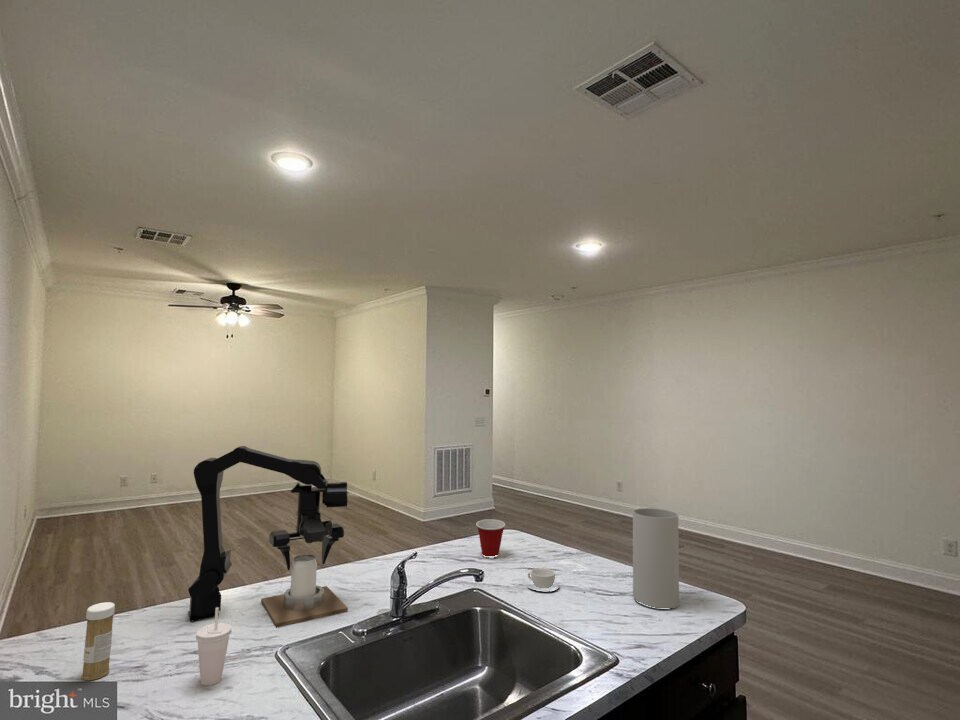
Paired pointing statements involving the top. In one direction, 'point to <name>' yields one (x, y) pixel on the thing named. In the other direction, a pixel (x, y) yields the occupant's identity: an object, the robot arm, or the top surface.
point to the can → (303, 576)
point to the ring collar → (303, 600)
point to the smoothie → (212, 650)
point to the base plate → (289, 617)
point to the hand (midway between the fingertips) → (306, 567)
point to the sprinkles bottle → (98, 640)
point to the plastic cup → (490, 536)
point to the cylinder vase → (656, 557)
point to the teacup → (542, 577)
